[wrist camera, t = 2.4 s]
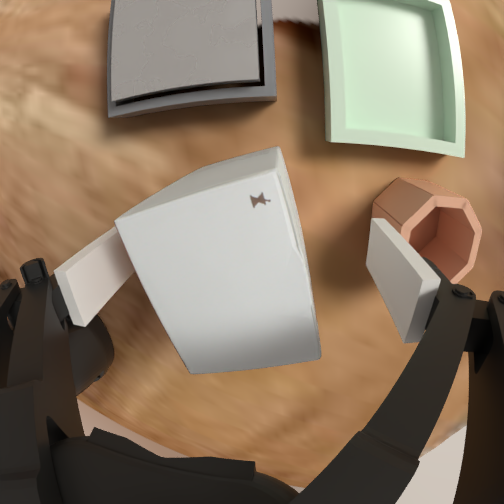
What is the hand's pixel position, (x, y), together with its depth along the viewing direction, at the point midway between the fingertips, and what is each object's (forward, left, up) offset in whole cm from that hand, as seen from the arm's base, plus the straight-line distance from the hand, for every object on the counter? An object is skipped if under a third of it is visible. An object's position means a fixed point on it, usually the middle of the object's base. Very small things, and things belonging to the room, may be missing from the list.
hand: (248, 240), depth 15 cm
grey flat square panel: (-4, +14, -4) cm, 15 cm away
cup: (+13, -1, -8) cm, 15 cm away
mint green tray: (+11, +12, -8) cm, 18 cm away
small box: (0, 0, -8) cm, 8 cm away
